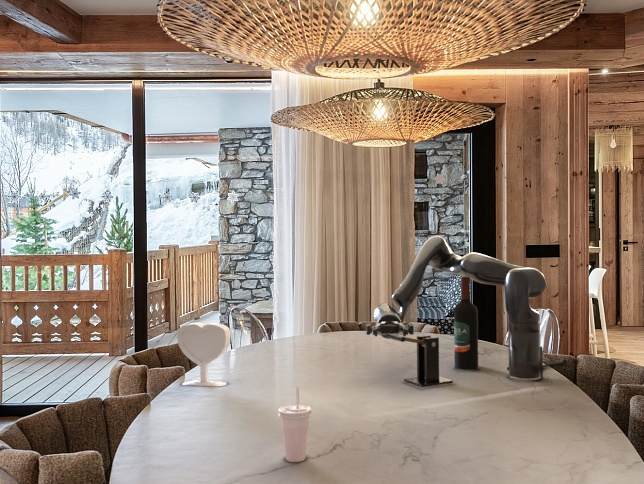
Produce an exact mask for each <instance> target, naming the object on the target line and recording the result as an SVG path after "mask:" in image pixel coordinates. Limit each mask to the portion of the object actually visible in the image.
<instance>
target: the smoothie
mask: <svg viewBox="0 0 644 484" xmlns="http://www.w3.org/2000/svg"><path fill="white" fill-rule="evenodd" d="M311 415H312V407H310V406H309V405H305V404H300V387H299V386H296V387H295V404H288V405H284V406H281V407H279V408H278V417H280V424H281V425H280V426H281V430H282V440H283V447H284V455H285V460H286V461H287V462H290V463H300V462H303V461H305V460H306V452H307V444H308V434H309V427H310V426H309V425H310V418H311V417H310V416H311Z"/></svg>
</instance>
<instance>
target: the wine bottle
mask: <svg viewBox="0 0 644 484" xmlns="http://www.w3.org/2000/svg"><path fill="white" fill-rule="evenodd" d="M460 297H461V298H460V302H459V303H458V304H457V305H456V306H455V307H454V309H453V340H454V341H453V343H454V344H453V349H454V353H453V355H454V356H453V357H454V368H455V369H458V370H463V371H464V370H466V371H471V370H477V369H478V368H479V314H478V313H479V311H478V308H477V306H476V305H475V304H473V302H472V301H471V280H470V277H463V276H460Z"/></svg>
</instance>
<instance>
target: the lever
mask: <svg viewBox="0 0 644 484" xmlns="http://www.w3.org/2000/svg"><path fill="white" fill-rule="evenodd" d="M386 337H387V338H390V339H389V340H394V341H398V342H401V343H404V342H409V343H415V344H417V343H420V344H421V346H424V347H425V339H424V338H422V340H418V339H417V338H411V337H407V336H403V335H394V334H390V333H388V334H387V335H386ZM387 338H386V339H387Z"/></svg>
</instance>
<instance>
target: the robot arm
mask: <svg viewBox="0 0 644 484" xmlns="http://www.w3.org/2000/svg"><path fill="white" fill-rule="evenodd" d="M428 264H429V266H430V267H432V269H434V270H436V271H440V272H446V273H451V274H454V275H457V276H460V277H470V281H474V282H475V283H479V284H484V285H491V286H500V287H503V289H504V304H505V305H504V307H505V312H506V314H507V320H508V322H507V327H508V328H507V330H508V335H507V336H508V339H507V340H508V366H507V367H506V371H508V377H509V378H511V379H515V380H523V381H524V380H525V381H531V382H532V381H533V382H537V381H540V380H541V379H543V378H544V369H545V368H546V367H552V366H560V365H563V364H564V363H566V359H565V358H564V357H562V359H561V361H559V362H552V363H546V364H544V363H543V361H544V357H543V354H544V353H543V352H544V351H543V349H544V348H543V346H542V345H541V317H540V315H541V314H540V312H539V311H537V310H535V309H533V308H532V307H531V304H530V299H534V298H538V297H540V296H542V294H544V292H545V291H546V290H547V289H546V288H547V280H546V277H545V276H544V274H543V273H542V272H541V271H540V270H538V269H537V268H534V267H526V266H521V265H515V264H511V263H508V262H506V261H504V260H500V259H497V258H494V257H491V256H488V255H486V254H482V253H479V252H469V253H466V254H465V255H463V256H461V255H458V254H455V253H454V252H453V250H452V249H451V248H450V246H449V245H448V242H446V240H445V238H443V237H442V236H440V235H434V236H431V237H429V238H428V239H427V240H426V241H424V243H423V244H422V245H421V247H420V249H419V251H418V253H417V255H416V257H415V258H414V260H413V263H412V265H411V267H410V269H409V271H408V272H407V274H406V276H405V278H403V280H402V282H401V283H400V285H399V286H398V287H397V288H396V290H395V291H394V292H393V294H392V295H391V302H392V303H393V305H394V306H395V308H396V309H395V308H394V307H392V306H391V305H389V304H388V303H386V302H383V303H380V304H378V305H377V306H376V307H375V308H374V310H373V312H372V318H373V321H374V322H375V323H376V324H375V325H373V324H372V323H370V322H368V323H366V325H365V330H366V332H365V334H366V335H367V336H370V335H372V336H374V337H378V336H381V337H382V338H384V339H386V340H391V339H390V338H387V337H386V335H387V334H388V333H390V334H394V335H398V336H402V337H407V336H408V335H411V336H412V335H414V330H415V329H414V327H415V326H414V324H413V323H412V322H409V323H407V324H406V325H405V324H404V322H405V318H406V315H407V312H408V310H409V308H410V306H411V305H412V304H413V303H414V301H415V300H416V299H417V297H418V295H419V294H420V292H421V289H422V286H423V283H424V278H425V273H426V270H427V267H428Z"/></svg>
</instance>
